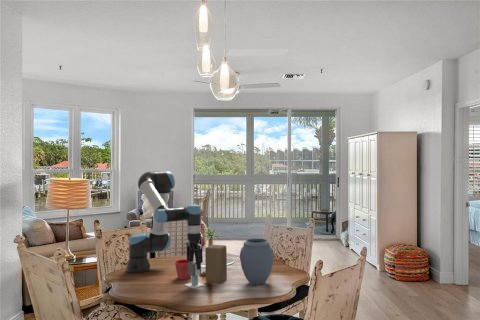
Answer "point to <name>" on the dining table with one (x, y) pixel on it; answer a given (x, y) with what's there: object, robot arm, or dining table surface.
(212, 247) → the wooden block
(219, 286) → the dining table surface
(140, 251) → the robot arm
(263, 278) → the vase
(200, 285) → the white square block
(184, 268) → the flower pot
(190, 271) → the grey rectangular block
